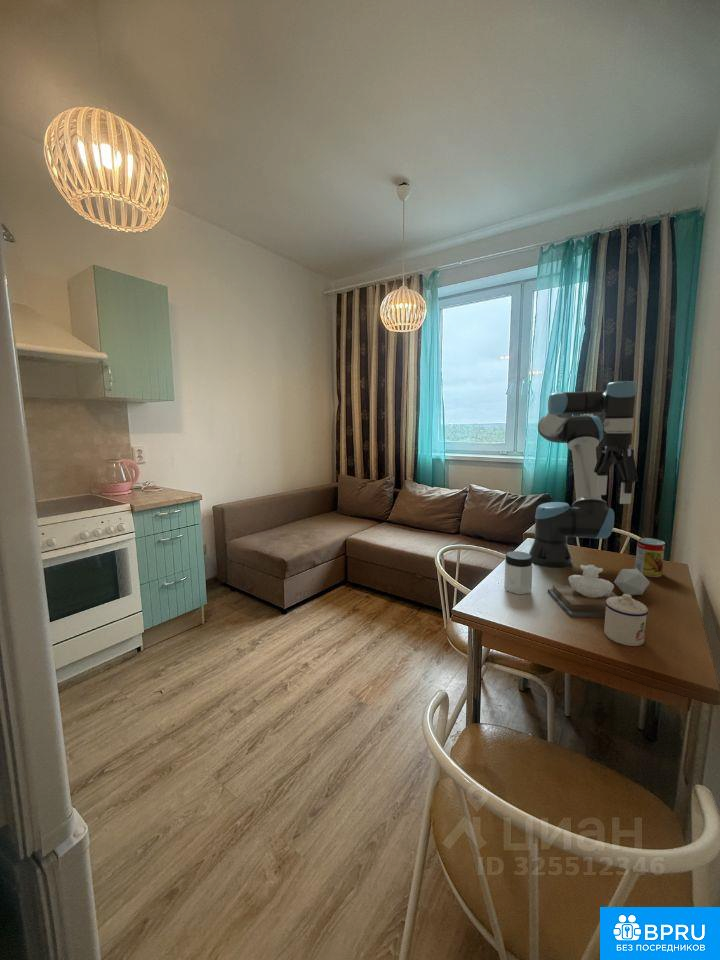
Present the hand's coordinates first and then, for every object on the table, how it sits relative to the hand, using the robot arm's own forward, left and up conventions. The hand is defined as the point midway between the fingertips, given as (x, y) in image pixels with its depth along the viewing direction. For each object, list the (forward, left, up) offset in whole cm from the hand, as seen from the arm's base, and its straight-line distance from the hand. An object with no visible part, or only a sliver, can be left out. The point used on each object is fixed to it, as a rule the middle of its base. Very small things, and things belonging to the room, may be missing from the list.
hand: (612, 499), depth 123 cm
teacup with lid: (+28, -10, -31) cm, 43 cm away
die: (+3, +6, -31) cm, 32 cm away
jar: (+1, -29, -31) cm, 42 cm away
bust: (+12, -11, -28) cm, 32 cm away
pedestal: (+11, -11, -31) cm, 34 cm away
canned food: (-14, +22, -31) cm, 41 cm away
